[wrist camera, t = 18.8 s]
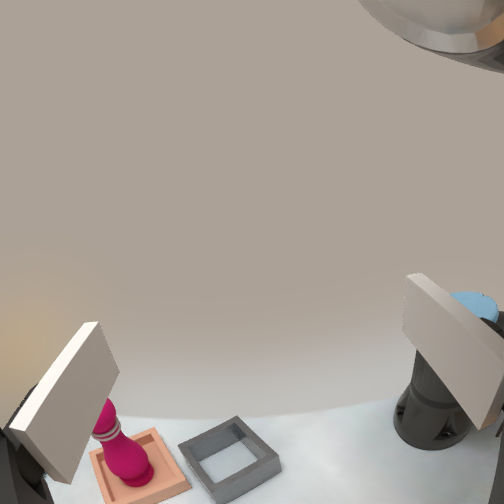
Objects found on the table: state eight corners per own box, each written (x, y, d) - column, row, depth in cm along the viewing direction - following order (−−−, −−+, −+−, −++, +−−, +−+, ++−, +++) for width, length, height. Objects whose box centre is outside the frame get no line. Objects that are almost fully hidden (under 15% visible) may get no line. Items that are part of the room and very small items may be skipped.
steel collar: (242, 432, 49) (237, 415, 48) (281, 471, 40) (278, 455, 38) (186, 461, 43) (177, 445, 42) (219, 507, 34) (211, 493, 33)
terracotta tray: (159, 436, 49) (154, 426, 48) (191, 487, 38) (186, 479, 37) (96, 461, 42) (88, 452, 41) (116, 517, 31) (107, 509, 30)
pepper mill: (110, 474, 39) (52, 392, 33) (138, 452, 44) (90, 368, 38) (136, 496, 35) (74, 416, 29) (165, 471, 40) (116, 387, 34)
